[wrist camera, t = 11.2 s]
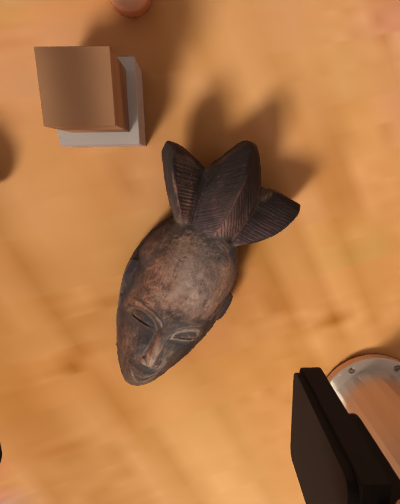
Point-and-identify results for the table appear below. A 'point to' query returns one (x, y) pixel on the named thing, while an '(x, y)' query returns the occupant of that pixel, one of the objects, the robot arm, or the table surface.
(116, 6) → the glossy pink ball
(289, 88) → the table surface
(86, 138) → the grey block
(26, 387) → the table surface
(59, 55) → the brown metal block
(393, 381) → the robot arm
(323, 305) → the table surface
